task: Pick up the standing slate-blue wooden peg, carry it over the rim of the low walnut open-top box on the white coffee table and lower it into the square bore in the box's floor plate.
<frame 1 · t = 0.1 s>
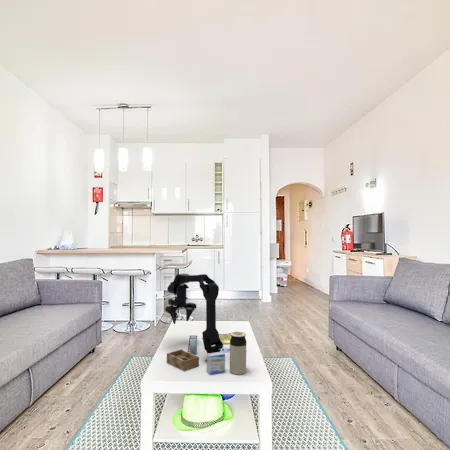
hand: (180, 322, 183), 15 cm above the table, fingers open, 9 cm apart
medicine box: (215, 372, 150), on the table
peg: (193, 354, 172), on the table
travel mug: (237, 371, 151), on the table
caddy: (182, 364, 158), on the table
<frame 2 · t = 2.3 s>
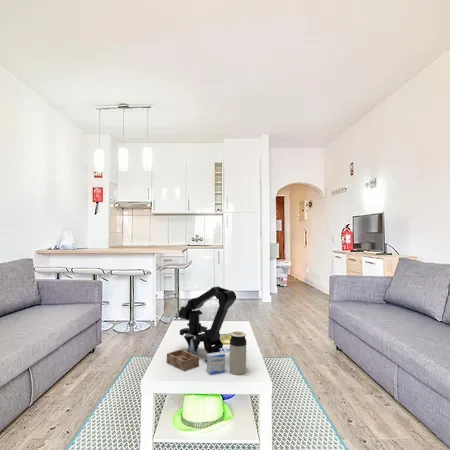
hand: (193, 350, 172), 2 cm above the table, fingers closed on peg, 4 cm apart
peg: (193, 354, 172), on the table, touching gripper
everything else where it was.
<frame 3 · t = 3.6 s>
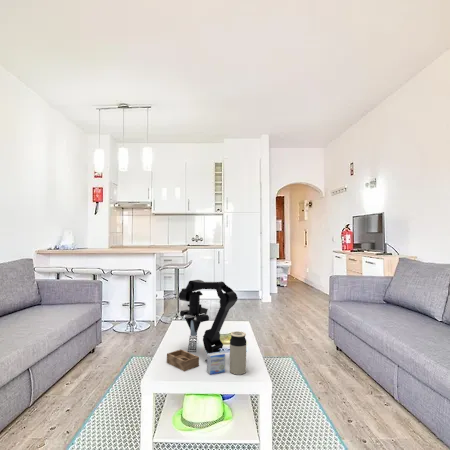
hand: (193, 331, 173), 12 cm above the table, fingers closed on peg, 4 cm apart
peg: (193, 335, 173), point 10 cm above the table, touching gripper
everything else where it was.
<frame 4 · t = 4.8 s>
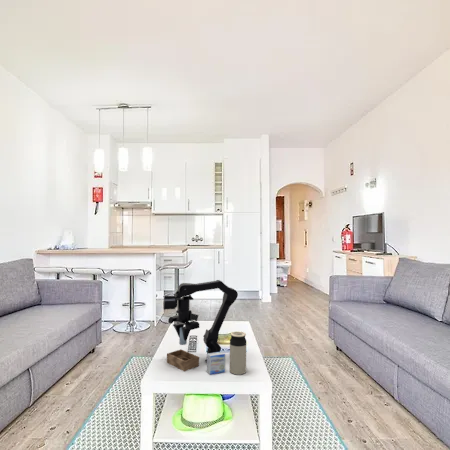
hand: (183, 339, 159), 12 cm above the table, fingers closed on peg, 4 cm apart
peg: (183, 343, 159), point 10 cm above the table, touching gripper
everything else where it was.
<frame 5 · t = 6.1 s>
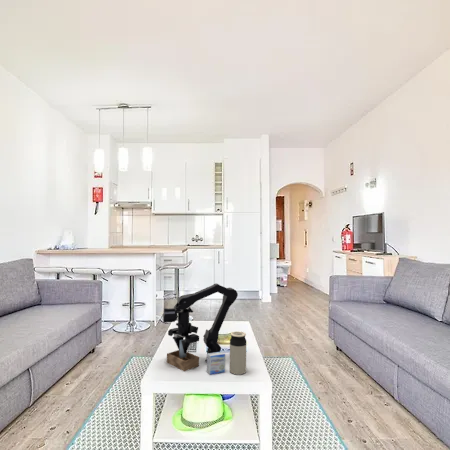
hand: (182, 352, 158), 6 cm above the table, fingers closed on peg, 4 cm apart
peg: (182, 356, 158), point 4 cm above the table, touching gripper
everything else where it was.
when the fingers open (3 cm above the table, at t = 7.1 s): peg stays where it is, resting in caddy.
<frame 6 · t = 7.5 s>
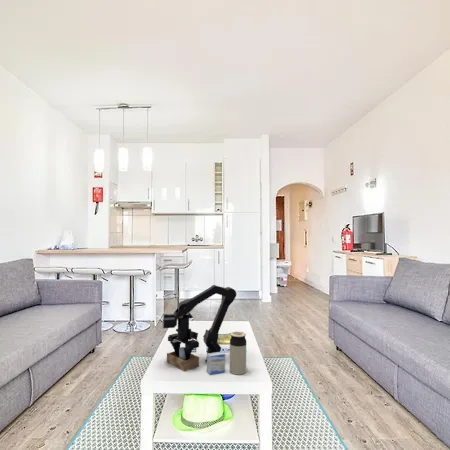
hand: (182, 358, 158), 3 cm above the table, fingers open, 7 cm apart
peg: (182, 364, 158), resting in caddy
everything else where it was.
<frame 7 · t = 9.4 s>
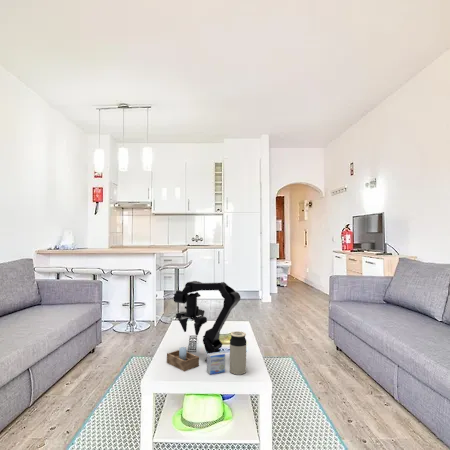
hand: (190, 333, 170), 12 cm above the table, fingers open, 9 cm apart
nothing on the table moved.
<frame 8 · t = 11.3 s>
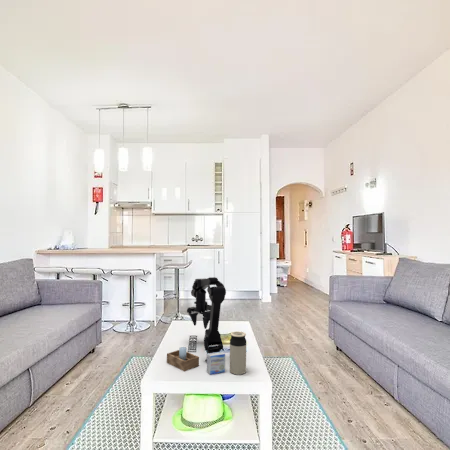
hand: (200, 327, 183), 12 cm above the table, fingers open, 9 cm apart
nothing on the table moved.
at the end: peg 0.0 cm off-centre on the caddy, point 0.0 cm above the caddy's base; peg tilted 0°; the gripper is holding nothing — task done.
